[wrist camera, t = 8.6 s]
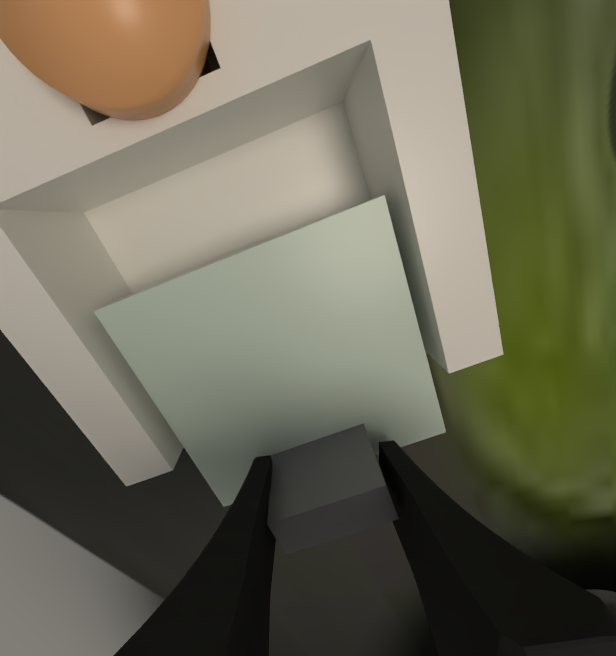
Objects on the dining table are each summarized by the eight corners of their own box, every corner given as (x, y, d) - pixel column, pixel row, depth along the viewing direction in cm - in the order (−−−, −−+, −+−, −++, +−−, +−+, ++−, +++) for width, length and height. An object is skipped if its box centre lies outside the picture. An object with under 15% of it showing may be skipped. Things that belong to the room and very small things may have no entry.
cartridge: (235, 456, 16) (205, 585, 10) (137, 291, 13) (13, 347, 7) (417, 393, 15) (492, 493, 10) (362, 201, 12) (427, 182, 6)
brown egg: (147, 170, 11) (56, 137, 7) (73, 25, 9) (-102, -134, 5) (257, 123, 11) (234, 57, 6) (198, -35, 9) (119, -256, 5)
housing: (173, 409, 16) (126, 486, 12) (-25, 100, 11) (-255, 12, 6) (437, 313, 15) (503, 354, 10) (348, -75, 10) (397, -331, 5)
